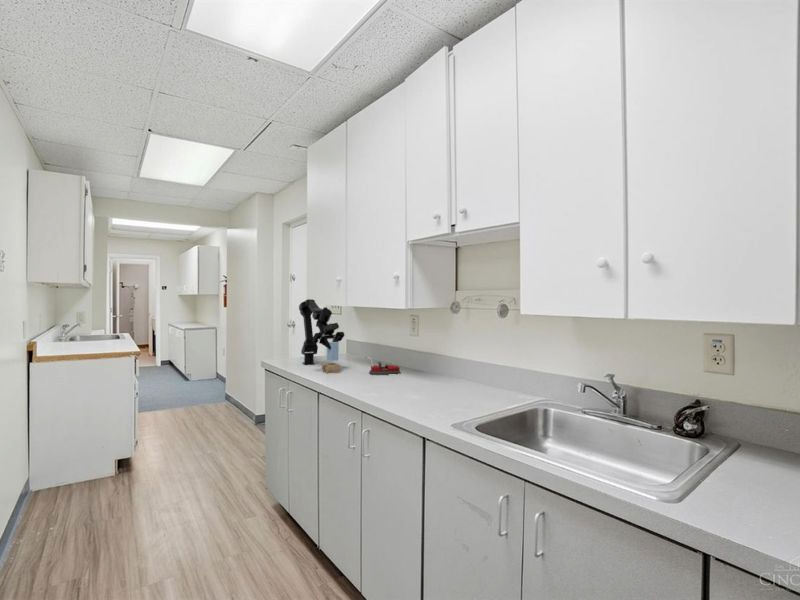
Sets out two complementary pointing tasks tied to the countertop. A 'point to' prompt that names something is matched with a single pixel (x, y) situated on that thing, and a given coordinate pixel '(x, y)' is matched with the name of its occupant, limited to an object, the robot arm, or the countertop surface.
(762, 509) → the countertop surface
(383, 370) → the bumper car
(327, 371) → the slab bottom
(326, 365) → the slab top
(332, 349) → the pillar
